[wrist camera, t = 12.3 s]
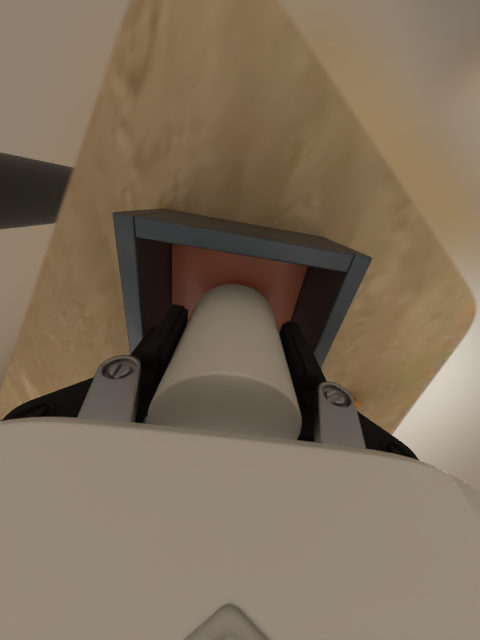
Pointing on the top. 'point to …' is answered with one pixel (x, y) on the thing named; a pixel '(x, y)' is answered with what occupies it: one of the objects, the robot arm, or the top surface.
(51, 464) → the robot arm
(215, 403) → the white cylinder
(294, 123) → the top surface
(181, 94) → the top surface
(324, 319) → the dark grey divided tray
